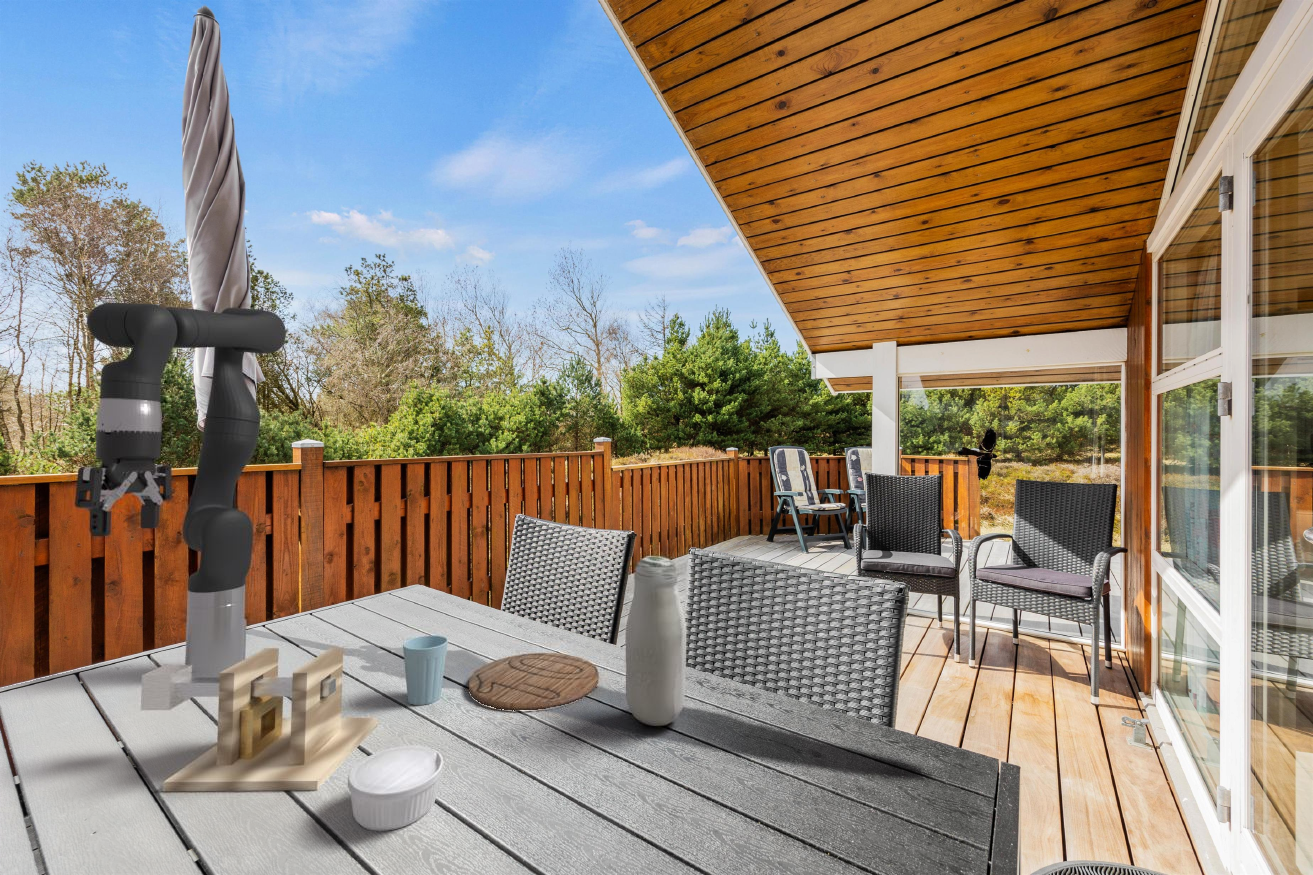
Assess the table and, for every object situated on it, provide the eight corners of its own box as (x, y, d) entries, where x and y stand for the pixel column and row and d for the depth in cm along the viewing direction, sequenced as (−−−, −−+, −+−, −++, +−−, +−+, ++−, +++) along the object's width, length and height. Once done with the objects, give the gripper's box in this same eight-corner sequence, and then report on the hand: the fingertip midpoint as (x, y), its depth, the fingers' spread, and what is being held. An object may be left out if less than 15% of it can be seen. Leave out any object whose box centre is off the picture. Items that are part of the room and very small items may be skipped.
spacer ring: (240, 759, 81) (241, 709, 81) (271, 734, 88) (272, 689, 88) (251, 759, 81) (253, 709, 81) (281, 734, 88) (283, 689, 88)
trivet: (555, 725, 96) (556, 713, 96) (439, 698, 105) (439, 688, 105) (619, 672, 119) (619, 663, 119) (519, 654, 128) (519, 646, 128)
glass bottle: (692, 714, 99) (694, 554, 100) (669, 741, 90) (671, 564, 91) (641, 703, 104) (644, 549, 104) (614, 727, 94) (617, 558, 95)
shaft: (140, 710, 82) (142, 675, 82) (163, 698, 86) (164, 664, 86) (324, 709, 83) (325, 675, 83) (338, 697, 87) (339, 664, 87)
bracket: (162, 791, 75) (166, 684, 75) (253, 725, 93) (256, 639, 93) (317, 789, 76) (320, 684, 76) (377, 725, 94) (380, 639, 94)
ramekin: (434, 832, 68) (435, 787, 68) (332, 843, 66) (333, 797, 66) (448, 779, 79) (449, 741, 79) (362, 787, 77) (363, 748, 77)
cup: (448, 687, 109) (449, 633, 109) (445, 705, 102) (446, 646, 102) (405, 692, 107) (406, 636, 107) (399, 710, 99) (400, 650, 100)
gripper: (144, 430, 97) (140, 525, 96) (59, 426, 82) (54, 538, 82) (189, 431, 97) (186, 526, 96) (113, 427, 83) (108, 539, 82)
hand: (125, 531), depth 89 cm, fingers open, 8 cm apart
